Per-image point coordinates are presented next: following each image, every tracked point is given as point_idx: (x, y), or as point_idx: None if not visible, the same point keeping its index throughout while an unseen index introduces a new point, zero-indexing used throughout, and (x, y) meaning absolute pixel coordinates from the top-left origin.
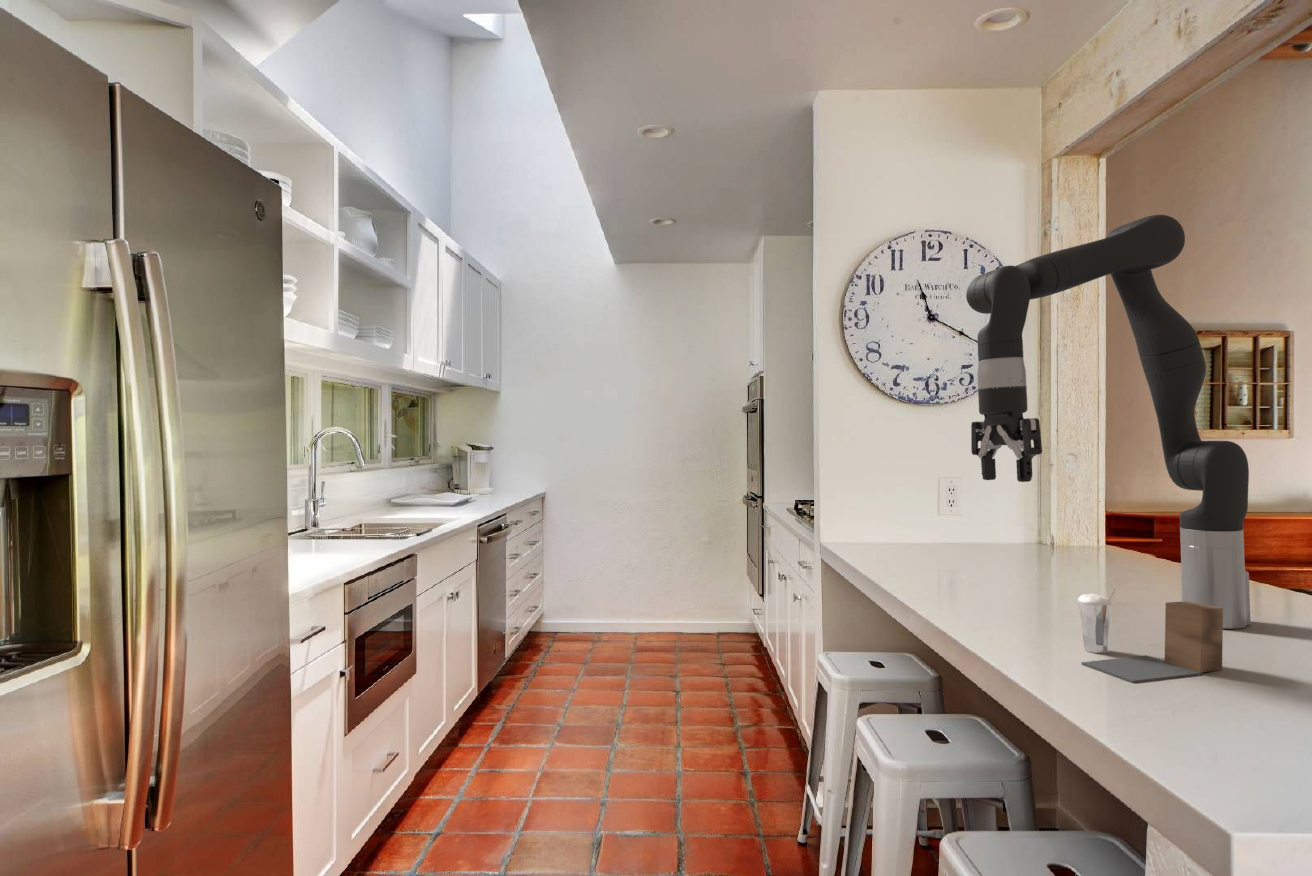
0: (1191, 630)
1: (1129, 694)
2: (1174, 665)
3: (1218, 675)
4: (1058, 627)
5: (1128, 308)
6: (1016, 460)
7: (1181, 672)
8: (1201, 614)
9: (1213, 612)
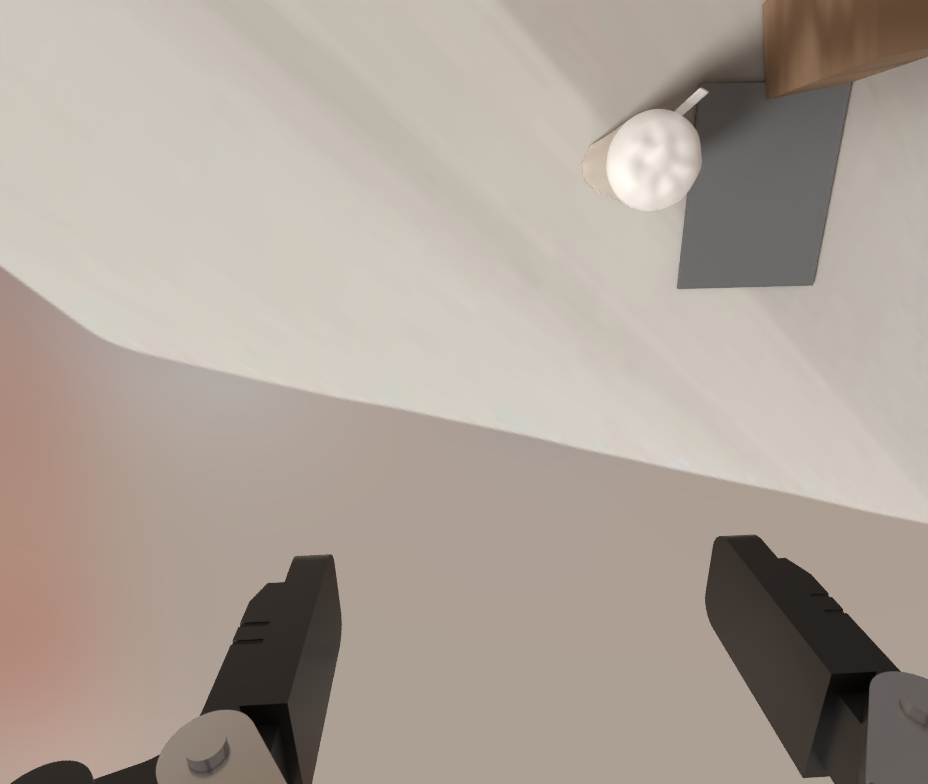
0: (903, 61)
1: (847, 343)
2: None
3: None
4: (368, 63)
5: None
6: (797, 767)
7: (828, 128)
8: None
9: None
